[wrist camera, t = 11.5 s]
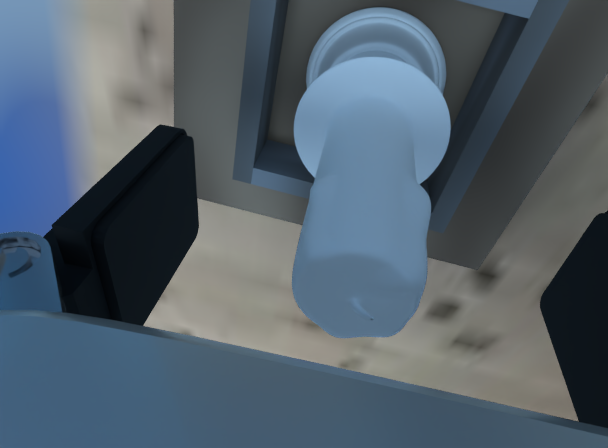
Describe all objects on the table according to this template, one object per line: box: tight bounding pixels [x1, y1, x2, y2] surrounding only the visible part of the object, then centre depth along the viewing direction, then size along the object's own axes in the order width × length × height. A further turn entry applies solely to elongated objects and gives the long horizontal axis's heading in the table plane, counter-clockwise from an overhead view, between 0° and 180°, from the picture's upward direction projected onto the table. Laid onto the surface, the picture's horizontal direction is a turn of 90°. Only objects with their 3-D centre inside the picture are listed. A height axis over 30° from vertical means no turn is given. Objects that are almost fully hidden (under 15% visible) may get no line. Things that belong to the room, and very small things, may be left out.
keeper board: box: [174, 0, 608, 270], centre depth 16 cm, size 16×16×4 cm
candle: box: [292, 7, 451, 338], centre depth 12 cm, size 5×5×12 cm
